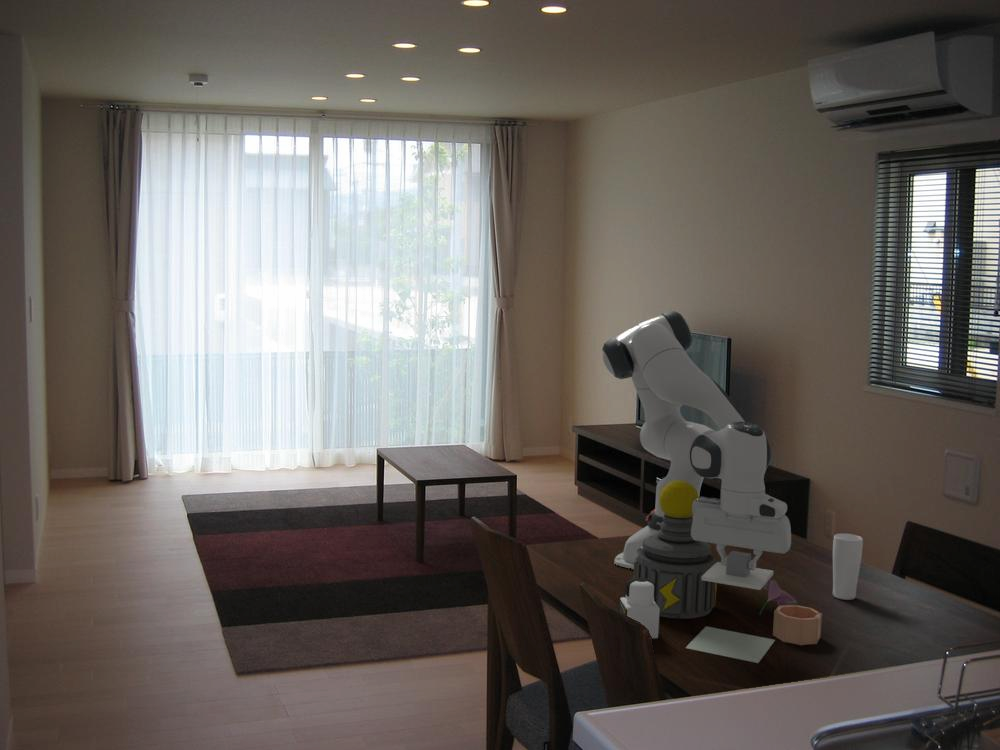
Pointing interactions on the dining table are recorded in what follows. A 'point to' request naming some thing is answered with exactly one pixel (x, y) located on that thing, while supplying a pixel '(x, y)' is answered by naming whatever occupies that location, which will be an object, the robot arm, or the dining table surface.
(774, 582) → the lily
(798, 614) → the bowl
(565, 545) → the dining table surface
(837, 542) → the drinking glass
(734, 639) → the mat
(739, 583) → the lid
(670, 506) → the decorative lamp
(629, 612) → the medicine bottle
